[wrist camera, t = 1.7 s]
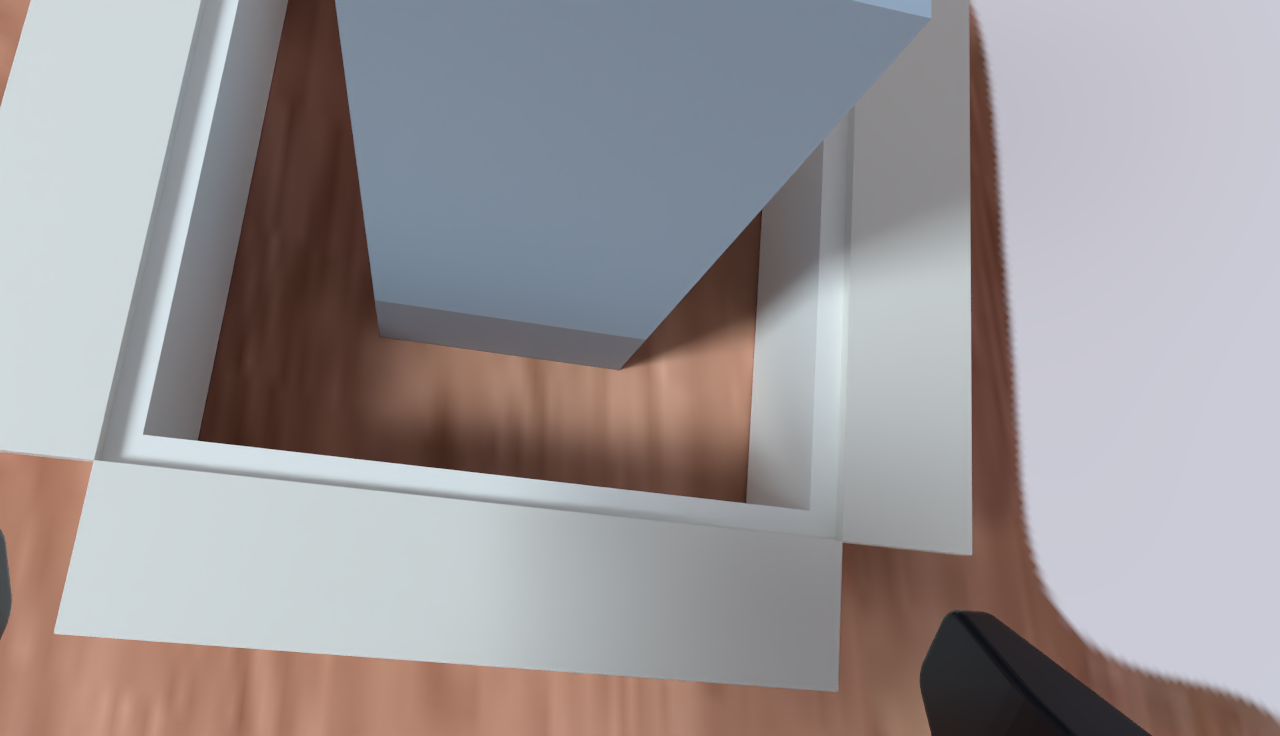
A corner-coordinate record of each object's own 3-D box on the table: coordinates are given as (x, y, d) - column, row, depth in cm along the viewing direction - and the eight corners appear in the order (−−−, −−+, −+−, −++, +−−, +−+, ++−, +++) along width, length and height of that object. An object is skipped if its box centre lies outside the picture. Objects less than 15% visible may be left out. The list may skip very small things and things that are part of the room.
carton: (872, 684, 20) (973, 702, 16) (-25, 615, 17) (-146, 619, 13) (885, 73, 24) (969, -22, 20) (153, -84, 20) (96, -231, 17)
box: (618, 369, 20) (931, 18, 8) (379, 336, 19) (319, -122, 7) (638, 158, 22) (934, -425, 9) (415, 116, 21) (415, -597, 8)
